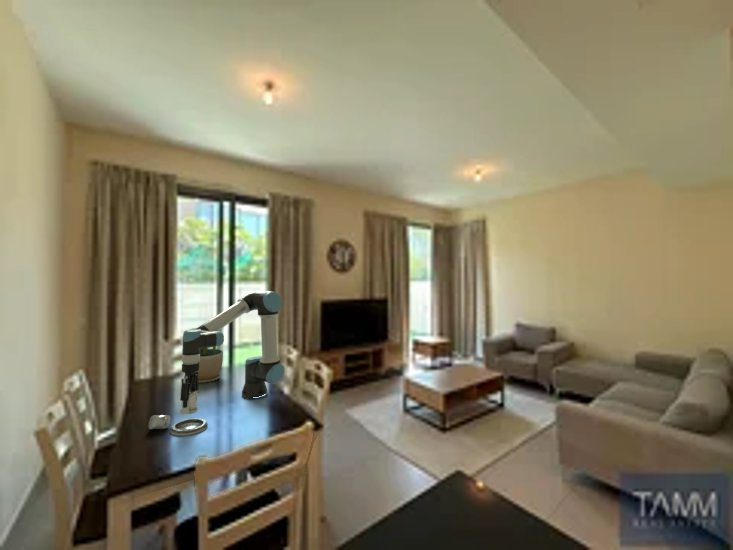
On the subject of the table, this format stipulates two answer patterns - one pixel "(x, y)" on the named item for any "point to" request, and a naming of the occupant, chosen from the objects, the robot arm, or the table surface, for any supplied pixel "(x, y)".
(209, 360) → the potted plant
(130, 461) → the table surface
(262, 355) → the robot arm
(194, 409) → the knob
